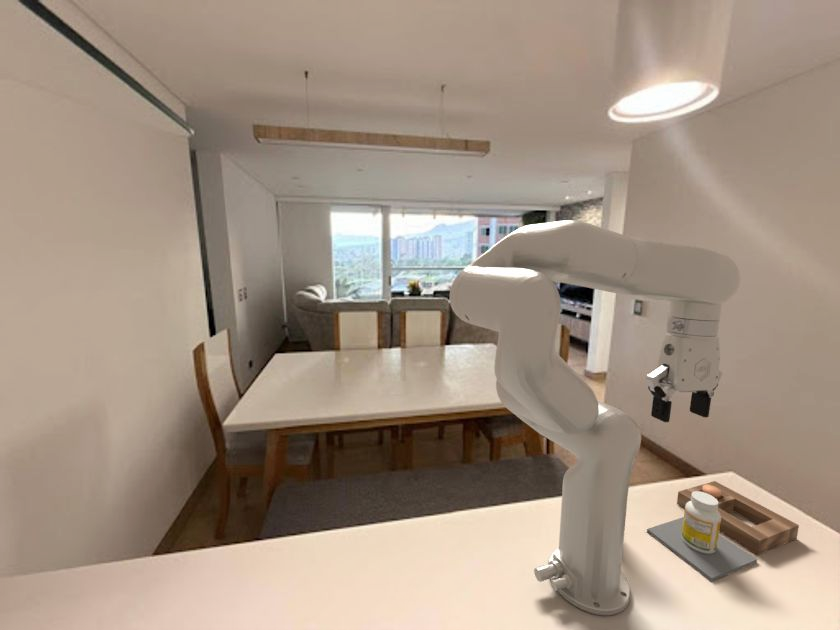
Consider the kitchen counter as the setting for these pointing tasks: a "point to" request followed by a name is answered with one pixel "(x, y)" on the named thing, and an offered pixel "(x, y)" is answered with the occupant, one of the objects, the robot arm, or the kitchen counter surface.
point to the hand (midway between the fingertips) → (679, 416)
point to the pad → (707, 564)
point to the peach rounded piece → (712, 491)
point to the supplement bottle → (701, 523)
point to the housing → (757, 538)
